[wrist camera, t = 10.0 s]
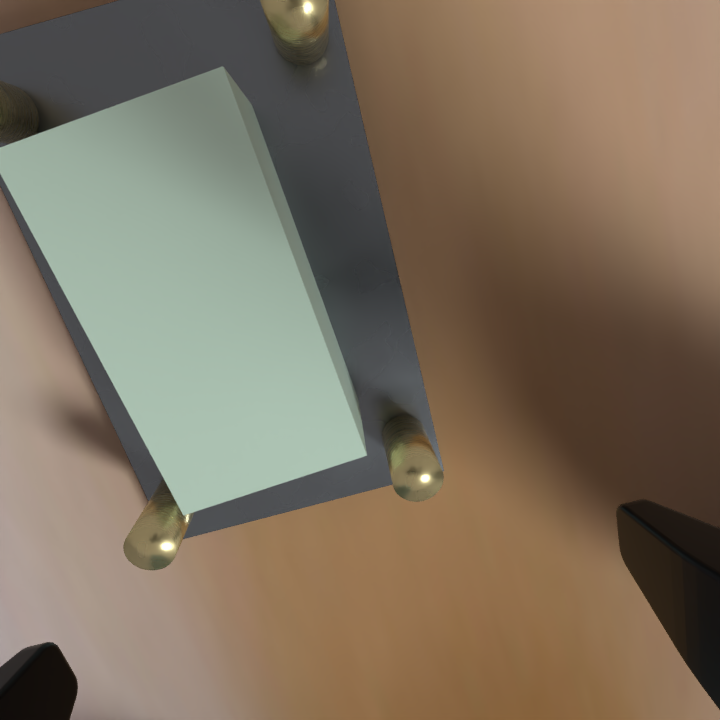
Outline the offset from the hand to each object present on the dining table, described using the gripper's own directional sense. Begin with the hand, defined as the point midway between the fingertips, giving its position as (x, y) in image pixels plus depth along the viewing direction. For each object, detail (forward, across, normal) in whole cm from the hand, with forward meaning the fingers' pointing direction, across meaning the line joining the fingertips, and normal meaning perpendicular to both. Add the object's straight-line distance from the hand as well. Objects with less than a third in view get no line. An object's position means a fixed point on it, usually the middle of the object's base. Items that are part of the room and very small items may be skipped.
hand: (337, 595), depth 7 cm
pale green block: (+10, +3, -4) cm, 11 cm away
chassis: (+11, +3, -4) cm, 12 cm away
